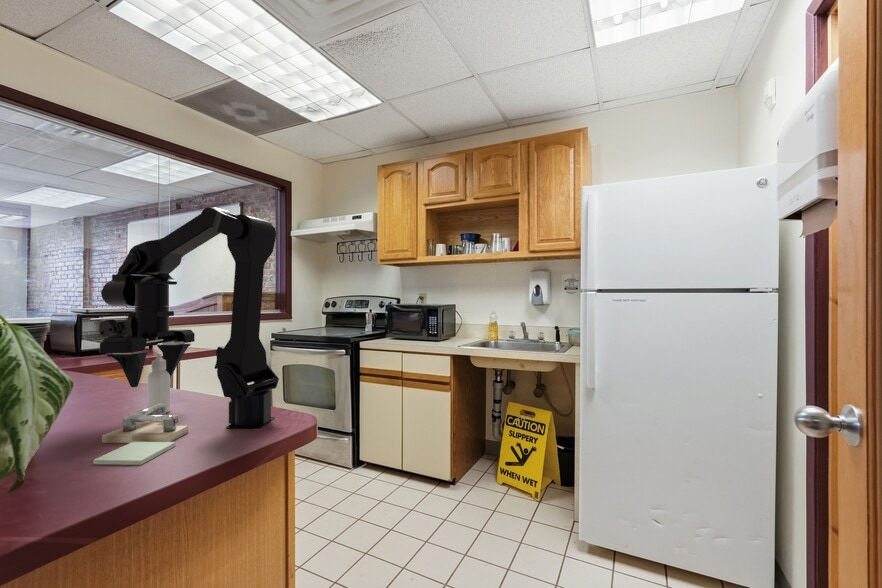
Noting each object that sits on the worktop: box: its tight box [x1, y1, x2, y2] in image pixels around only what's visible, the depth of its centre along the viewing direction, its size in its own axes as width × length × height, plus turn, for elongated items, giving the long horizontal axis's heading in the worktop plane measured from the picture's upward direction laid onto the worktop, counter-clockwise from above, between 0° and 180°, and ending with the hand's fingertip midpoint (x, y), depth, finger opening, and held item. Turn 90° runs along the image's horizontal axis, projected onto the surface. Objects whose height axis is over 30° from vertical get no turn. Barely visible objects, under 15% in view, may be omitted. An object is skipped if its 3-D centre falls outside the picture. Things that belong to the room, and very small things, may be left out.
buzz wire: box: [101, 404, 189, 444], centre depth 69 cm, size 11×11×4 cm
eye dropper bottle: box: [146, 353, 171, 415], centre depth 81 cm, size 4×6×12 cm
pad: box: [93, 441, 176, 466], centre depth 59 cm, size 7×7×1 cm
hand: (152, 381), depth 81 cm, fingers open, 9 cm apart
